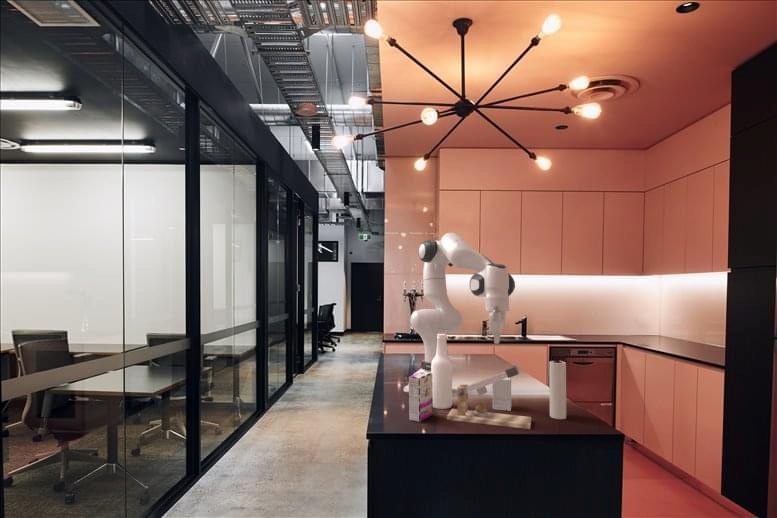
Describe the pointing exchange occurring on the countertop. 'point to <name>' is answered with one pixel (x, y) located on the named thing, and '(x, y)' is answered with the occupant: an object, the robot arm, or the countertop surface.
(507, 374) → the lever
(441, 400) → the alcohol
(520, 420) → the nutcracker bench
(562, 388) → the paper towel roll
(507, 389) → the supplement box
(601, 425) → the countertop surface
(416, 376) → the candy bar box
